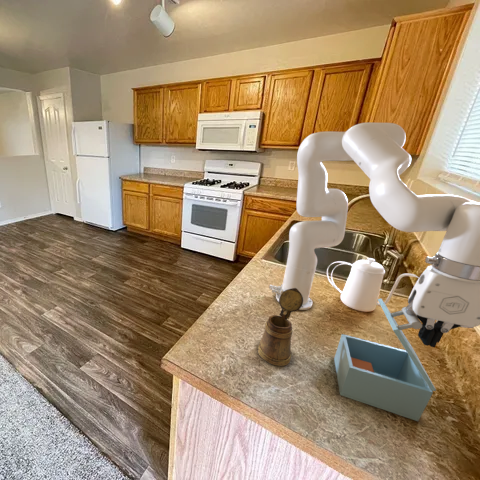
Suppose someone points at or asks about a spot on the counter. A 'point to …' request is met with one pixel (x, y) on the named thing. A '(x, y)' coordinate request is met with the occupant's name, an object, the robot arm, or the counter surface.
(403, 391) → the chest
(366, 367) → the block
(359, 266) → the coffeepot
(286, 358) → the wooden mug
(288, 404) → the counter surface
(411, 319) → the lid
